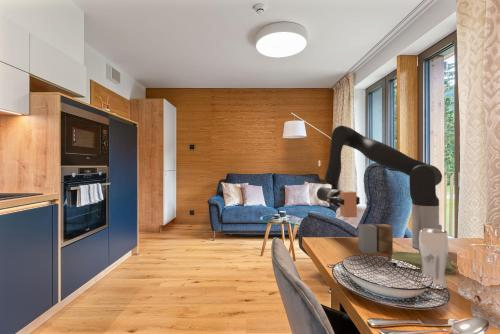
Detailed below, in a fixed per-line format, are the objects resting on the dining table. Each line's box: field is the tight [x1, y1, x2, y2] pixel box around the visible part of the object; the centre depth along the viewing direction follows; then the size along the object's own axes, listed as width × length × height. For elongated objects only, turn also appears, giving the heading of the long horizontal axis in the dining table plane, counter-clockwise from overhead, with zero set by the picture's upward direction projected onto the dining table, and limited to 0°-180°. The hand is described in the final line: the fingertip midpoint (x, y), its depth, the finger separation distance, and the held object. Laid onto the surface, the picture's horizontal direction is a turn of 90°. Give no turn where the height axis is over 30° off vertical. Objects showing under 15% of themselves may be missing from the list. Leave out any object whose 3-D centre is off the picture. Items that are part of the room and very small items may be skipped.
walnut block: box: [372, 223, 394, 254], centre depth 108 cm, size 5×5×10 cm
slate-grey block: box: [357, 223, 378, 254], centre depth 108 cm, size 5×5×10 cm
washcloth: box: [390, 251, 456, 275], centre depth 93 cm, size 13×18×3 cm
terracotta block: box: [339, 190, 358, 218], centre depth 115 cm, size 5×5×10 cm
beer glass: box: [418, 228, 449, 288], centre depth 77 cm, size 7×7×15 cm
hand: (350, 202), depth 112 cm, fingers closed on terracotta block, 5 cm apart
